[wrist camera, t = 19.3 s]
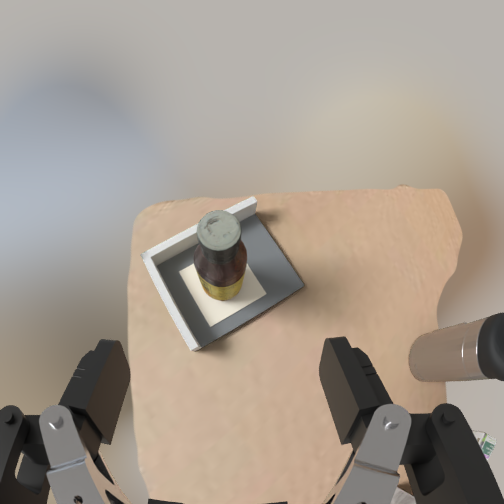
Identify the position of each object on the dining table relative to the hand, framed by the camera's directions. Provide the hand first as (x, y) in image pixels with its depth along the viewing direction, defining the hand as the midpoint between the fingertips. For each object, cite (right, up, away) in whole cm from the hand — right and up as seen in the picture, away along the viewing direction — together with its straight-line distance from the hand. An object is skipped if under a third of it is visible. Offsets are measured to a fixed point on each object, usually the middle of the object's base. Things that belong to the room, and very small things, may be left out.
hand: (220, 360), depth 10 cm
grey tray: (-3, 0, +35) cm, 35 cm away
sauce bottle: (-3, -1, +33) cm, 34 cm away
